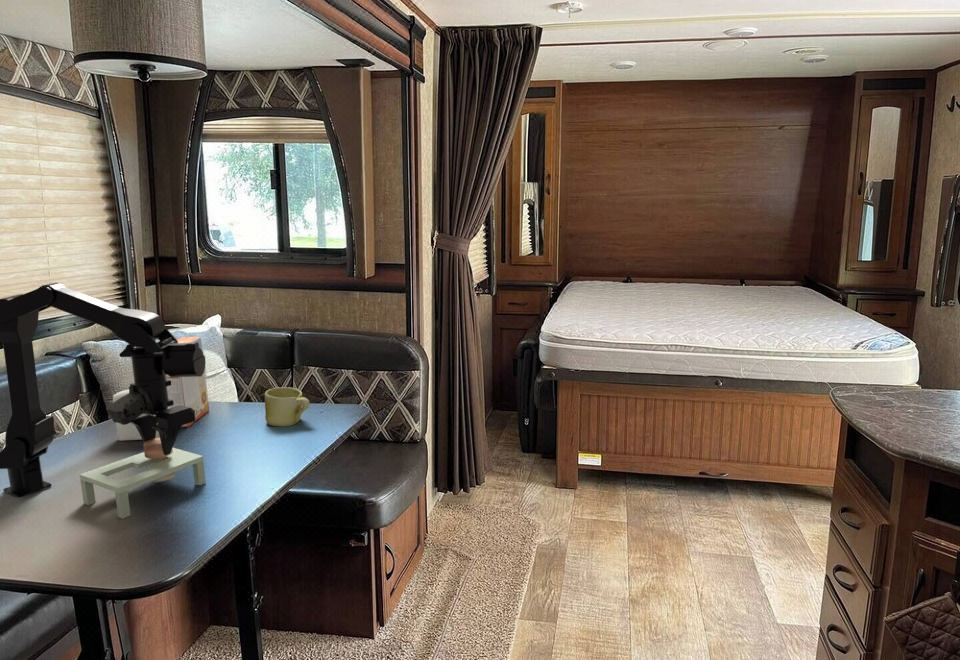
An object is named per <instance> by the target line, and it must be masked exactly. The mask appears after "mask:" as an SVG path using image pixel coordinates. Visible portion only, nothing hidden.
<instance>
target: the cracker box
mask: <svg viewBox="0 0 960 660" xmlns="http://www.w3.org/2000/svg"><path fill="white" fill-rule="evenodd" d="M176 340H177V341H178V343H190V342H198V343H199V348H200V349H201V350H202V352H203V343H202V337H201V336H184V337H183V336H182V337H180V338H176ZM203 353H204V352H203ZM206 378H207V377H206V370H204V373H203V375H202V376H200V377H170V376H169V375H166V379H167V380H171V385H170V386H167V392H168V399H170V400H173V404H174V405H172V406H168V408H167V409H169V408H172V407H176V406H179V405H181V406H186V407H190V408H192V409H193V410H195V415H196V421H197V420H199V419H201V417H203V416H204V415H205V414H206V413H208V412H209V411H210V403H209V395H208V394H209V393H208V388H207V387H208V385H207V379H206ZM196 421H194V422H191V423H188V424H185V425H182V427H181V428H189V427H190V426H192V425H193V424H194V423H196Z"/></svg>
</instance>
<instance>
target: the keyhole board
mask: <svg viewBox="0 0 960 660" xmlns="http://www.w3.org/2000/svg"><path fill="white" fill-rule="evenodd" d="M191 466H192V470H193V471H192V473H193V479H194V485H195V484H197V485H201V486H203V485H202V484H204V485H206V484H207V482H206V472H205V464H204V456H203V455H202V454H201V455H200V454H197V453H194V452H190V451H187V450H183V449H180V448H176V447H173V453H172V454H170V455H168V456H166V457H165V460H162V461H160V462H157V463H154V459H150V458H146V457H145V454H144V451H143V452H140V453H138V454H134V455H132V456H127V457H126V458H123V459H119V460H117V461H115V462H112V463H108V464H106V465H103V466H100V467H98V468H94V469H92V470H89V471H85V472H82V473H80V474H79V479H80V487H81V493H82V500H83V504H84V505H86V506H90V505H92V504H95V503H97V501H96V496H95V495H96V494H95V488H94V485H95V486H98V487H101V488H104V489H107V490H109V491H112V492H114V494H115V502H116V509H117V517H118V518H120V517H121V518H120V519H126V518H128V517H131V508H130V502H129V493H128V491H130V490H132V489H134V488H137V487H139V486H143V485H145V484H147V483H151V482H150V481H152V480H155V479H158V478H160V477H163V476H165V475H168V474H170V473H173V472H175V473H176V472H178V471H180V470H183V469H185V468H188V467H191ZM131 468H136V469H138V470H140V469H142V468H145V471H144V470H143V471H142V472H139V473H136V474H133V475H131V476H129V477H126V478H123V479H121V480H120V479H117V478H114V477H111V476H112V475H115V474H117V473H121V472H123V471H125V470H129V469H131ZM205 483H206V484H205ZM197 485H196V486H197ZM127 516H128V517H127ZM125 517H126V518H125Z"/></svg>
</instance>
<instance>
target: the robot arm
mask: <svg viewBox="0 0 960 660" xmlns="http://www.w3.org/2000/svg"><path fill="white" fill-rule="evenodd" d="M51 307H52V308H54V309H56V310H60V311H62V312H65V313H67V314H70V315H73V316H75V317H78V318H80V319H83V320H85V321H88V322H90V323H93V324H97V325H99V326H101V327H104V328H106V329H107V330H109V331H111V332H112V333H113V334H114V336H115V337H116V338H118V339H119V340H122V341H123V342H125V343H127V345H126V346H125V348H124V349H123V350H122V351H121V352H120V353H119V355H118V356H119V357H120V358H131V365H132V374H133V383H130V384H129V386H128V390H129V394H127V395H125V396H123V397H121V398H120V399H118V400H117V401H115V402H114V403H113V402H112V403H111V404H109V405H108V406H107V407H106V412H107V413H108V415H109V416H110V418H111V420H112V422H113V424H116V422H117V423H121V424H122V425H126V424H129V423H131V424H133V425H135V427H136V428H137V430H138V432H139V434H140V436H141V438H142V439H141V440H142V442H143V443H144V442H146V441H148V440H151V439H155V436H156V430H157V431H158V432H159V436H160V440H161V445H162V449H163V452H164V455H168V454H170V453H171V450H172V448H174V444H175V442H176V439H177V437H178V435H179V432H180V431H181V429H182V428H183V427H182V425H185V424H188V423H191V422H194V421H195V422H196V421H197V420H196V415H195V410H193V409H192V408H190V407H186V406H181V405H179V406H176V407H172V408H169V409H167V408H168V406H172V405H174V404H173V400H170V399H168V392H167V386H170V385H171V380H167V379H166V375H169V376H170V377H200V376H202V375H203V373H204V370H205V369H206V356H205V355H204V352H202V351H203V349H202V350H201V349H200V348H199V343H198V342H190V343H178V341H177V338H176V337H175V336H174V335H173V334H172V332H171V331H170V330H169V329H168V328H167V327H166V326H165V323H164V321H163V318H162V317H161V316H160V315H158V314H157V313H155V312H150V311H147V310H141V309H134V308H124V307H121V306H120V307H119V306H117V305H114V304H112V303H108V302H106V301H104V300H102V299H101V300H100V299H98V298H96V297H93V296H90V295H88V294H85V293H83V292H80V291H78V290H75V289H73V288H70V287H67V286H66V285H64V284H62V283H60V282H51V283H48V284H47V283H46V284H44V285H40V286H39V287H38V288H36V289H34V290H30V291H27V292H26V293H24V294H23V293H21V294H15V295H11V296H7V297H3V298H0V342H1V343H2V345H3V346H2V347H3V355H4V361H5V363H4V364H5V370H6V378H7V385H8V387H7V388H8V393H9V402H10V409H11V415H10V419H9V421H8V423H7V425H6V428H5V437H4V438H5V439H4V440H5V441H4V445H5V446H4V447H3V449H2V450H0V470H5V469H7V476H8V480H9V481H8V482H9V486H8V487H4V488H3V492H4V493H7V494H9V495H11V496H14V497H15V498H22V497H24V496H28V495H31V494H34V493H37V492H39V491H42V490H45V489H49V488H50V487H52V486H53V485H52V483H50V482H48V481H45V480H44V477H43V470H42V465H41V458H40V457H41V456H42V455H45V454H47V453H48V449H49V446H50V445H51V444H52V442H53V441H54V436H55V435H57V431H56V428H55V417H54V415H48V416H47V415H46V414H45V412H44V411H43V410H42V409H41V404H40V402H41V401H40V393H39V388H38V387H39V386H38V379H37V378H38V377H37V370H36V362H35V361H36V360H35V354H34V346H33V345H34V344H33V340H34V339H33V338H34V336H35V334H36V331H37V329H38V325H39V313H40V312H42V311H45V310H47V309H49V308H51ZM205 371H206V370H205ZM195 422H194V423H195ZM157 423H158V424H157Z"/></svg>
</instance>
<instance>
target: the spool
mask: <svg viewBox="0 0 960 660" xmlns="http://www.w3.org/2000/svg"><path fill="white" fill-rule="evenodd" d="M142 446H143V452H144V454H145V457H146V458H150V459H154V463H157V462H160V461H162V460H165V457H166V456H168V455H170V454H172V453H173V448H174V447H173V448H172V450H171V453H170V454H168V455H164V452H163V449H162V445H161V440H160V438H155V439H151V440H148V441H146V442H143V445H142ZM154 463H153V464H154ZM175 476H176V472H173V473H170V474H168V475H165V476H163V477H160V478H158V479H155V480H152V481H150V482H149V483H163V482H167V481H168V480H171V479H173V478H175Z"/></svg>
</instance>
